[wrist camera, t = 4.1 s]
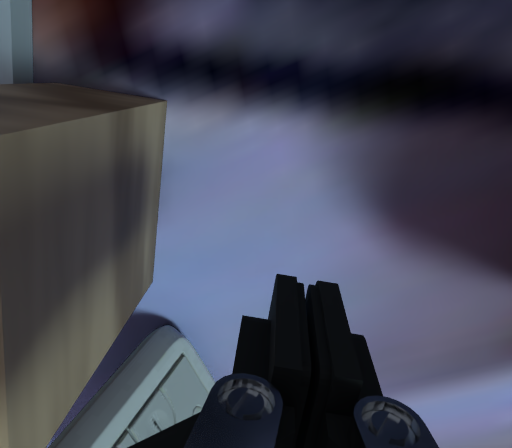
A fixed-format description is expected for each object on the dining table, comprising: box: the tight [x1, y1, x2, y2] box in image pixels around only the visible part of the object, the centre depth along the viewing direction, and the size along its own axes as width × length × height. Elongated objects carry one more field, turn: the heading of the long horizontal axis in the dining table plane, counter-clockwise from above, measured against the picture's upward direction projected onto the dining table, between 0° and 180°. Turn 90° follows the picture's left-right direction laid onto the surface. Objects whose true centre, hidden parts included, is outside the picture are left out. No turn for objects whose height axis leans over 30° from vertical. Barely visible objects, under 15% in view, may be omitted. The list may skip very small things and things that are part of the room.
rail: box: [0, 0, 33, 84], centre depth 20 cm, size 2×16×2 cm, turn 171°
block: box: [0, 83, 167, 448], centre depth 15 cm, size 5×9×12 cm, turn 171°
